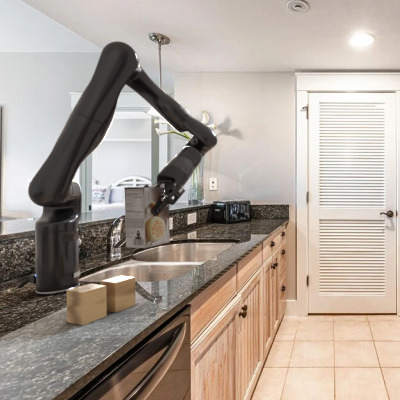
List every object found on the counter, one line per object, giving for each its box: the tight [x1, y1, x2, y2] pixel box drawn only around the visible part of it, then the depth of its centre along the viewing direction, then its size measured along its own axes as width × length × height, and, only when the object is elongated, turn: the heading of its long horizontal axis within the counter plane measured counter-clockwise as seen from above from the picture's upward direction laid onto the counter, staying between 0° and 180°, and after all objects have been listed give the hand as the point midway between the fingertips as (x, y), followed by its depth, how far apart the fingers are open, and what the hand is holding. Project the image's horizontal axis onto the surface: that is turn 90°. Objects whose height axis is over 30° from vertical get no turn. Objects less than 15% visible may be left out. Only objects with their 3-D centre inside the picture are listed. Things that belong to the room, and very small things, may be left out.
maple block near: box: [66, 283, 108, 326], centre depth 64 cm, size 5×5×7 cm
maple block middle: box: [99, 275, 136, 314], centre depth 70 cm, size 5×5×7 cm
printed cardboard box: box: [123, 186, 171, 249], centre depth 80 cm, size 9×6×16 cm
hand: (143, 213), depth 79 cm, fingers closed on printed cardboard box, 7 cm apart
